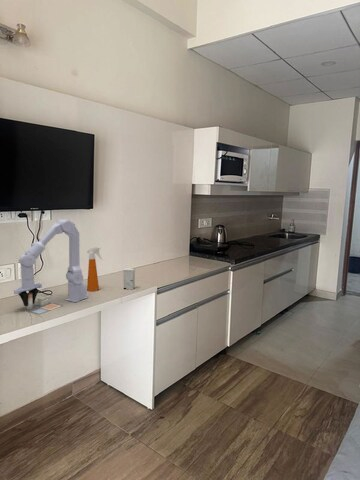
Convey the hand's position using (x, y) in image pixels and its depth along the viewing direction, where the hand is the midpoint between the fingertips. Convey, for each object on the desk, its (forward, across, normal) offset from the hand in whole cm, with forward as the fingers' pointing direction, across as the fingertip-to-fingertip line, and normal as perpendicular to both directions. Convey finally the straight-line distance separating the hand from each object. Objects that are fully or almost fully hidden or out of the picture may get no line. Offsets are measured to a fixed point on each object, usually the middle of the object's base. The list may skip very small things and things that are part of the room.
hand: (29, 304), depth 172 cm
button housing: (+2, -8, 0) cm, 8 cm away
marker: (+2, 0, 0) cm, 2 cm away
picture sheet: (+2, -4, +4) cm, 6 cm away
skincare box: (+2, -54, +21) cm, 58 cm away
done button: (+1, -8, 0) cm, 8 cm away
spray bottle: (+2, -41, +6) cm, 41 cm away
